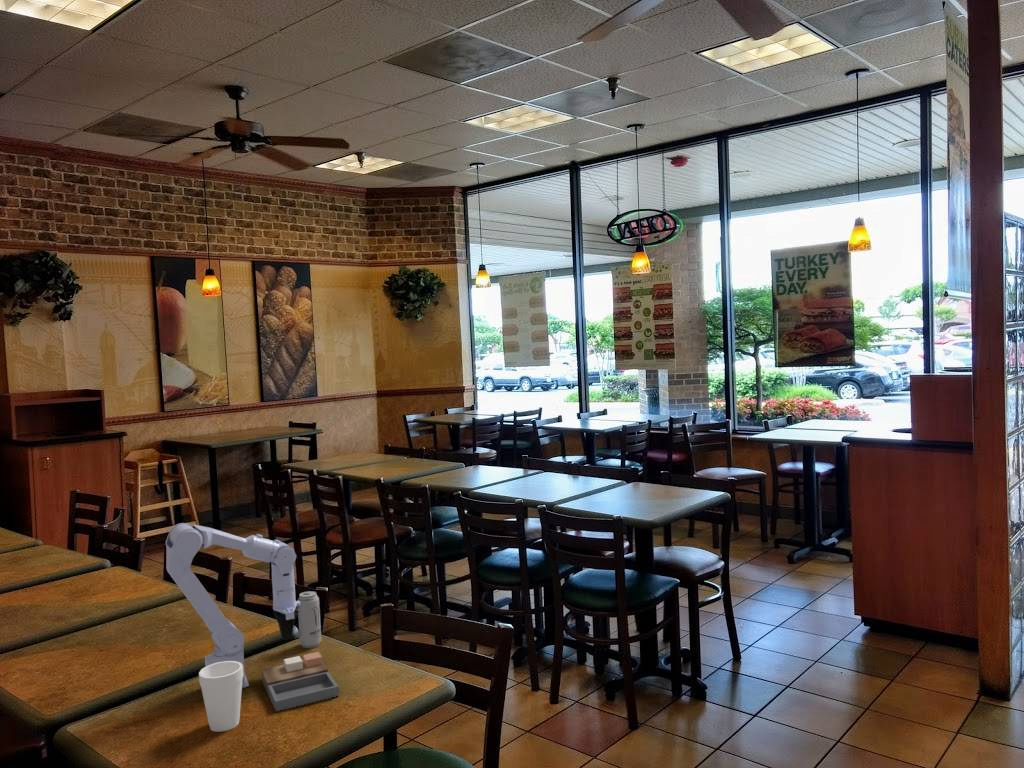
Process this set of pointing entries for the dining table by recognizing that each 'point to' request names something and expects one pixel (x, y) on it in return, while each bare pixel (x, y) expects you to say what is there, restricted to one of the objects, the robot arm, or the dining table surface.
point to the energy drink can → (309, 619)
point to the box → (302, 691)
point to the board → (289, 674)
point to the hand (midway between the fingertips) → (286, 638)
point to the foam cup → (222, 694)
